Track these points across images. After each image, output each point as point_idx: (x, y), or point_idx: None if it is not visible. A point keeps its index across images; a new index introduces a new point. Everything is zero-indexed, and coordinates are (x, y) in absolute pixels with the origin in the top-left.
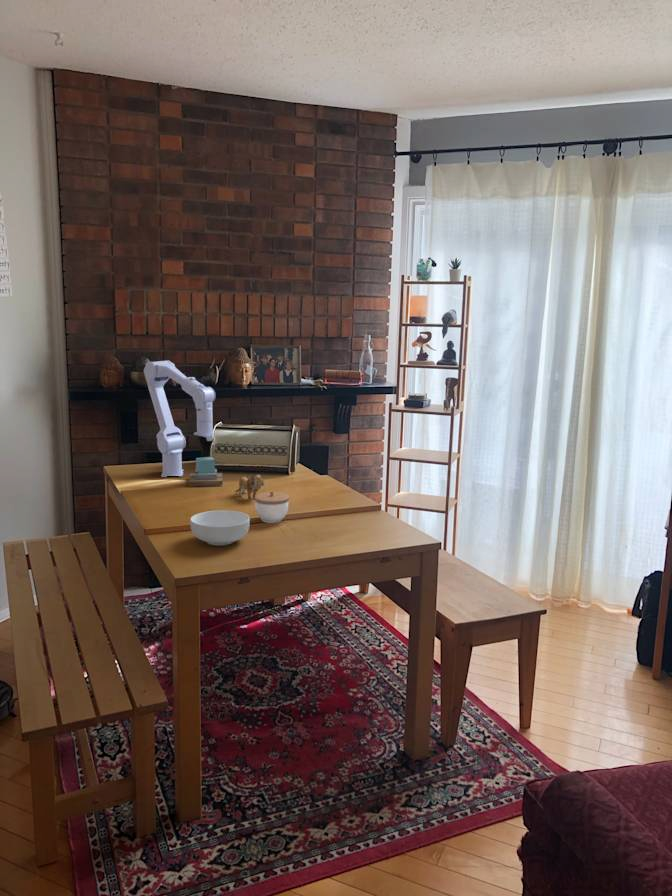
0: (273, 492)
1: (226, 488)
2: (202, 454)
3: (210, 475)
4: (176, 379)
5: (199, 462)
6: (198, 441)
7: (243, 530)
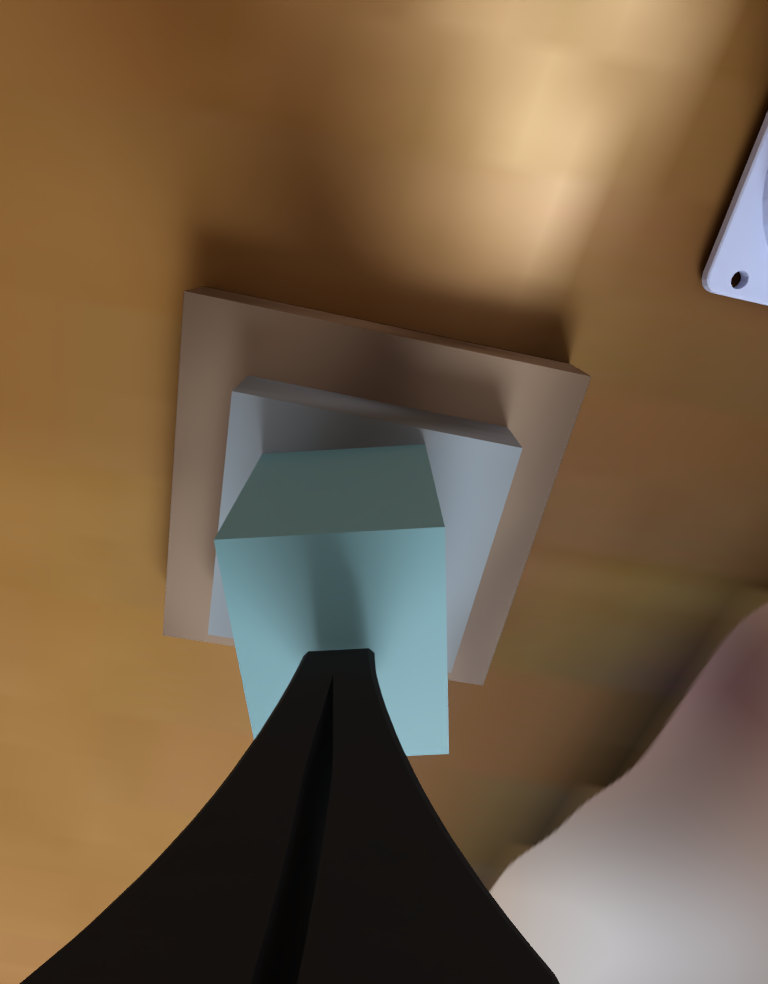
0: None
1: (91, 617)
2: (298, 676)
3: (218, 566)
4: None
5: (225, 534)
6: (375, 932)
7: None
